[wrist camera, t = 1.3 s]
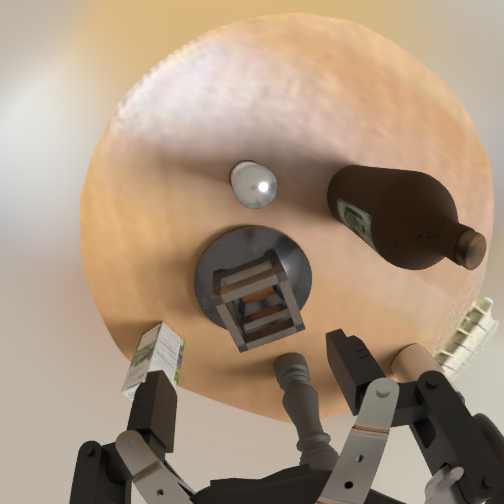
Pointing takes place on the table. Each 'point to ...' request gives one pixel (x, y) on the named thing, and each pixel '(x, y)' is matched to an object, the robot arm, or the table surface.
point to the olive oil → (404, 217)
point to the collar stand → (254, 285)
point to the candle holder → (304, 411)
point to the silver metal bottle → (253, 184)
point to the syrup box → (155, 358)
